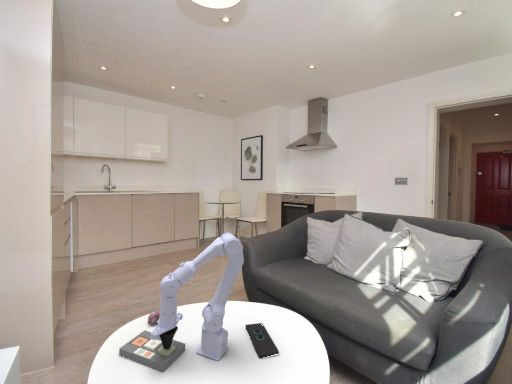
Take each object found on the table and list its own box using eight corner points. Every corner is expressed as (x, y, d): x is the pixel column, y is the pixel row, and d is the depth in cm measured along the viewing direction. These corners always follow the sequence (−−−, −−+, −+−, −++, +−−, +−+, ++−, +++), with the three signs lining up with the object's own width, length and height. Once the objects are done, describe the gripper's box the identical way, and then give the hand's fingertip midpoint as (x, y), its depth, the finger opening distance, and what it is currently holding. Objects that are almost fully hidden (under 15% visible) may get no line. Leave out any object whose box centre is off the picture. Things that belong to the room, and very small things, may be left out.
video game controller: (148, 328, 112) (149, 318, 108) (147, 318, 115) (148, 308, 112) (172, 323, 116) (173, 313, 113) (170, 314, 120) (172, 304, 116)
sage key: (175, 350, 94) (176, 346, 94) (167, 357, 90) (167, 353, 90) (165, 346, 95) (165, 342, 95) (157, 354, 91) (157, 349, 91)
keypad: (184, 350, 97) (185, 343, 97) (163, 372, 86) (163, 364, 86) (144, 336, 104) (144, 329, 104) (119, 355, 92) (119, 347, 92)
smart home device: (262, 322, 117) (280, 352, 98) (262, 326, 117) (279, 356, 98) (244, 324, 114) (259, 355, 95) (244, 328, 114) (258, 360, 95)
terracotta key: (149, 343, 98) (149, 339, 98) (140, 350, 94) (140, 346, 94) (139, 340, 100) (139, 336, 100) (130, 347, 95) (130, 343, 95)
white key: (162, 345, 96) (162, 341, 96) (153, 352, 92) (153, 348, 92) (152, 342, 98) (152, 338, 97) (143, 349, 93) (143, 345, 93)
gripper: (172, 299, 100) (170, 333, 101) (143, 318, 86) (142, 357, 87) (188, 303, 97) (186, 338, 98) (161, 323, 84) (159, 364, 85)
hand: (166, 348), depth 93 cm, fingers closed
